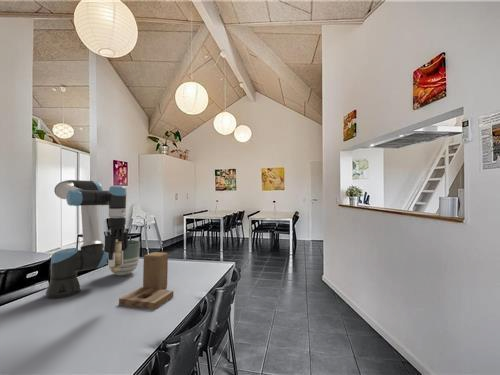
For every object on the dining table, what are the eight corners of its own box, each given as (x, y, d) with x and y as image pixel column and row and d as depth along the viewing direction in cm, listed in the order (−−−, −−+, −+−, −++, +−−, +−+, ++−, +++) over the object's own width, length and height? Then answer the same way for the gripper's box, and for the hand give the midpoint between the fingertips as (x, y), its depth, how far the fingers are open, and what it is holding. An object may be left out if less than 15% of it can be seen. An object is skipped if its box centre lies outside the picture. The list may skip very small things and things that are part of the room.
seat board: (118, 304, 123) (118, 298, 123) (141, 292, 138) (141, 287, 138) (154, 309, 118) (154, 302, 118) (173, 296, 133) (173, 290, 133)
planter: (145, 273, 174) (146, 241, 175) (117, 281, 158) (118, 246, 159) (128, 268, 185) (129, 239, 186) (100, 275, 168) (101, 243, 169)
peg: (108, 271, 122) (109, 242, 123) (116, 269, 127) (116, 240, 127) (116, 272, 121) (116, 242, 122) (123, 269, 125) (124, 241, 126)
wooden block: (158, 293, 138) (159, 256, 139) (142, 291, 140) (142, 255, 141) (167, 286, 148) (168, 252, 149) (152, 285, 150) (153, 251, 151)
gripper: (108, 218, 116) (107, 270, 114) (136, 216, 132) (135, 261, 131) (95, 218, 118) (94, 269, 116) (124, 216, 135) (123, 260, 133)
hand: (116, 264), depth 124 cm, fingers closed on peg, 4 cm apart
